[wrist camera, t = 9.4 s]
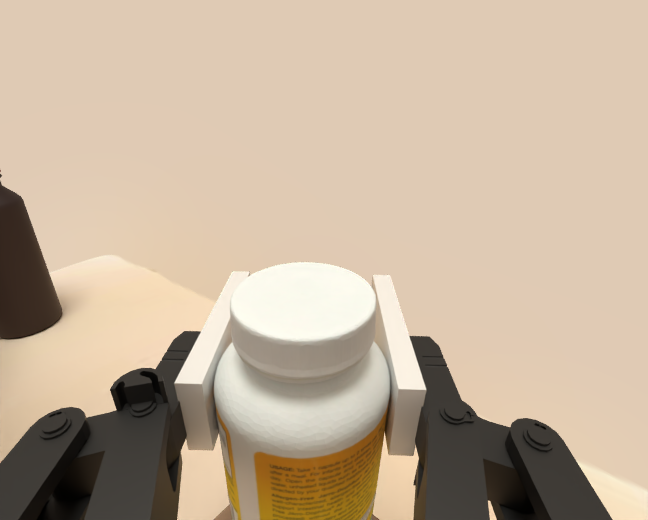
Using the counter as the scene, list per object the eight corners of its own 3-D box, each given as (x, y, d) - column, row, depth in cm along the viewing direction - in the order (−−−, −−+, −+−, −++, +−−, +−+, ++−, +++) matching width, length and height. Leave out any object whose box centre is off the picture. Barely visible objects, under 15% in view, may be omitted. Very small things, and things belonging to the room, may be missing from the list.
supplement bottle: (203, 519, 13) (155, 302, 9) (294, 422, 17) (290, 239, 13) (319, 634, 11) (326, 400, 6) (396, 488, 15) (431, 283, 10)
